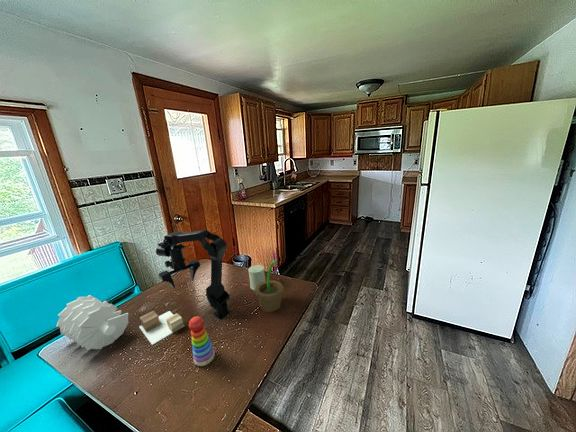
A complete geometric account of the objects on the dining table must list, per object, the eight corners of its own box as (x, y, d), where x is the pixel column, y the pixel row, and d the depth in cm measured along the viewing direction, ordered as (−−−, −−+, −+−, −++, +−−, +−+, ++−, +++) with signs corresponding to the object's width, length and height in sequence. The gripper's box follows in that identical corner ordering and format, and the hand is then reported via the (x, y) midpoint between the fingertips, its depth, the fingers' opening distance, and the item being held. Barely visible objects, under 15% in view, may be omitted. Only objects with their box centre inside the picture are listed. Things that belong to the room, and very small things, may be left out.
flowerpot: (286, 312, 112) (282, 256, 103) (257, 317, 110) (250, 260, 102) (282, 295, 125) (278, 244, 117) (256, 299, 123) (250, 247, 115)
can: (247, 289, 133) (245, 271, 129) (254, 281, 141) (252, 263, 138) (262, 291, 130) (260, 272, 127) (268, 282, 138) (266, 264, 135)
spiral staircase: (105, 360, 96) (74, 341, 106) (139, 320, 108) (108, 306, 118) (71, 343, 84) (39, 323, 94) (112, 300, 96) (80, 286, 106)
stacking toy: (208, 346, 95) (200, 307, 90) (219, 356, 90) (211, 315, 85) (189, 360, 89) (180, 319, 84) (200, 371, 84) (191, 329, 79)
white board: (184, 326, 107) (184, 325, 107) (152, 345, 97) (151, 344, 97) (169, 311, 118) (169, 310, 118) (139, 327, 108) (139, 326, 108)
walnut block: (160, 324, 108) (158, 315, 107) (146, 332, 104) (143, 323, 103) (155, 319, 112) (153, 310, 111) (142, 326, 108) (139, 317, 107)
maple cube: (183, 326, 106) (181, 317, 105) (172, 333, 103) (170, 323, 101) (179, 321, 109) (177, 312, 108) (168, 327, 106) (166, 318, 105)
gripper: (188, 247, 125) (194, 272, 129) (151, 259, 112) (158, 287, 117) (198, 251, 118) (203, 278, 122) (159, 266, 105) (166, 295, 109)
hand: (183, 284), depth 117 cm, fingers open, 9 cm apart
